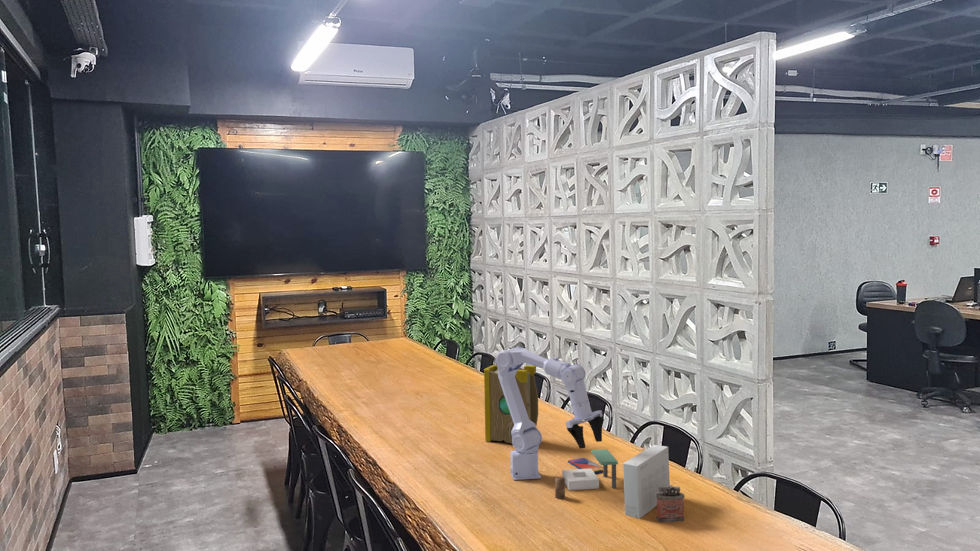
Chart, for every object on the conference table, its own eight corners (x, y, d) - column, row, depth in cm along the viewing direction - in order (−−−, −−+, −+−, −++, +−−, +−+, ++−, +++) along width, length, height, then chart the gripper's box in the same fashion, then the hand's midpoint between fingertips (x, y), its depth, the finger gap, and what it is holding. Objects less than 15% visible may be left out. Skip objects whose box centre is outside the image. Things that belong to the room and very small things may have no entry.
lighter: (682, 516, 201) (682, 483, 200) (685, 521, 197) (685, 488, 197) (654, 517, 200) (654, 484, 200) (658, 522, 197) (658, 488, 196)
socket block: (568, 490, 222) (568, 481, 222) (562, 478, 232) (562, 470, 232) (599, 488, 223) (598, 479, 223) (591, 477, 233) (591, 468, 233)
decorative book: (482, 441, 273) (481, 367, 271) (495, 433, 283) (494, 362, 280) (528, 448, 264) (528, 371, 261) (540, 440, 274) (539, 366, 271)
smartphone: (583, 460, 251) (583, 457, 251) (607, 472, 238) (607, 469, 238) (566, 463, 248) (566, 460, 248) (589, 476, 235) (589, 473, 235)
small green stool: (601, 489, 222) (601, 462, 221) (591, 475, 234) (591, 450, 233) (617, 488, 223) (617, 461, 222) (607, 474, 235) (607, 449, 234)
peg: (556, 499, 215) (556, 480, 214) (554, 495, 218) (554, 477, 217) (565, 498, 215) (565, 480, 215) (563, 495, 218) (563, 476, 218)
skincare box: (654, 492, 219) (654, 443, 218) (670, 496, 216) (670, 446, 215) (622, 514, 203) (622, 462, 202) (639, 519, 200) (639, 466, 198)
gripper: (572, 407, 212) (583, 450, 211) (604, 396, 221) (615, 437, 219) (557, 408, 218) (568, 451, 216) (589, 398, 226) (599, 438, 225)
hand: (590, 444), depth 218 cm, fingers open, 7 cm apart
